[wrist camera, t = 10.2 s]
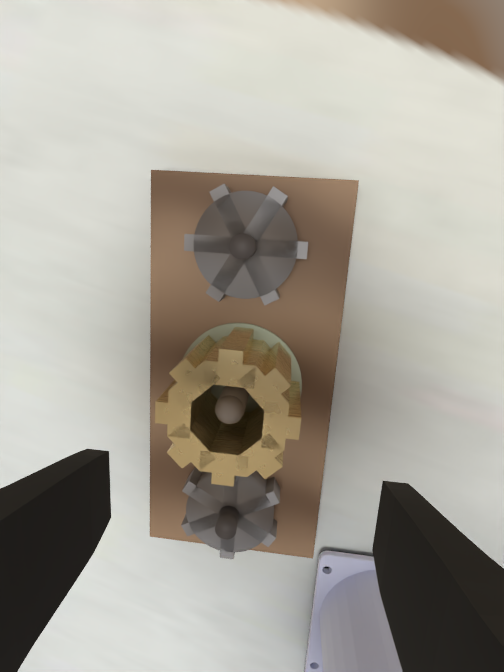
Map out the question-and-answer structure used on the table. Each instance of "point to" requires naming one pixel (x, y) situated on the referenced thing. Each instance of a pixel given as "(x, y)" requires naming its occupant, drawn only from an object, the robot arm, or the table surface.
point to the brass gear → (254, 427)
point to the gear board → (269, 325)
